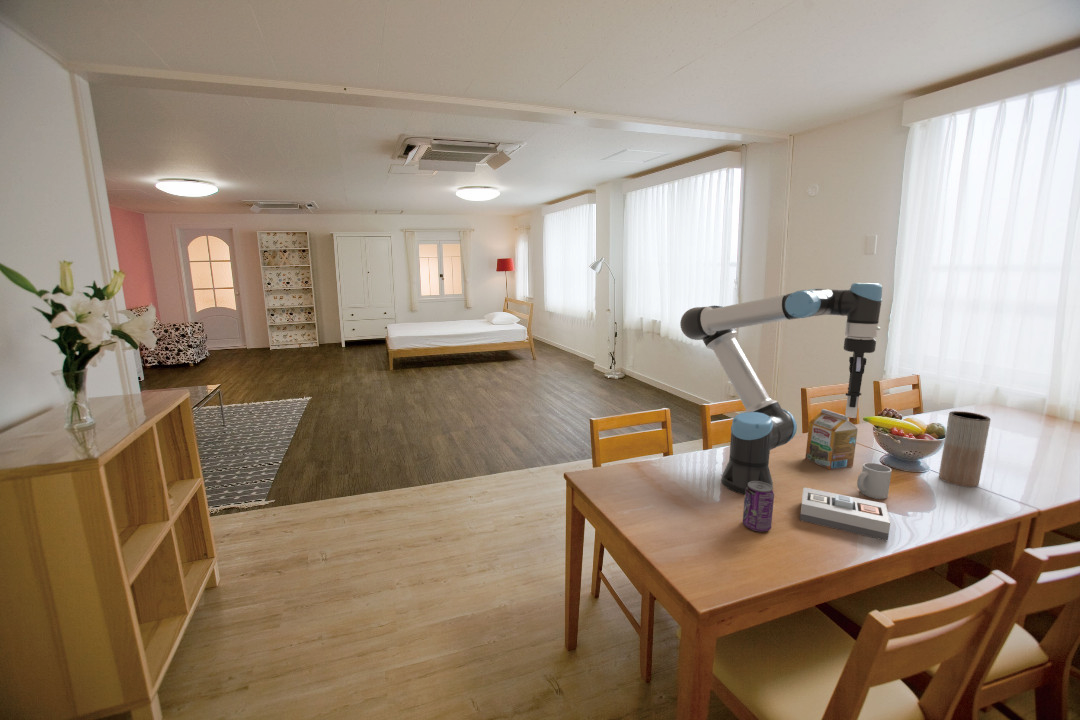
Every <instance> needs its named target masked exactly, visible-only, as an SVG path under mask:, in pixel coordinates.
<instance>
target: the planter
mask: <svg viewBox="0 0 1080 720" xmlns="http://www.w3.org/2000/svg"><path fill="white" fill-rule="evenodd" d="M990 424H991V418H990V417H989V416H988V415H985V414H981V413H976V412H971V411H963V410H962V411H961V410H953V411H949V413H948V419H947V423H946V429H945V430H946V431H945V434H944V435H945V436H944V443H943V449H942V453H941V454H942V455H941V461H940V466H939V473H938V477H939V478H940V479H941V480H942V481H944V482H946V483H949V484H952V485H955V486H959V487H966V488H976V487H978V486H979V485H980V480H981V475H982V469H983V463H984V457H985V453H986V449H987V448H986V446H987V441H988V436H989V430H990Z"/></svg>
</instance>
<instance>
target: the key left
mask: <svg viewBox="0 0 1080 720" xmlns="http://www.w3.org/2000/svg"><path fill="white" fill-rule="evenodd" d="M810 501H814V502H819V503H823V504H827V497H824V496H819V495H814V494H811V497H810Z"/></svg>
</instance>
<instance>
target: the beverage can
mask: <svg viewBox="0 0 1080 720" xmlns="http://www.w3.org/2000/svg"><path fill="white" fill-rule="evenodd" d="M773 489H774V486H773V487H772V486H771V485H770V484H768V483H765V482H761V481H751V482H748V486H747V488H746V489H745V494H744V502H743V511H742V512H743V514H742V524H743V526H745V527H746V528H748V529H750V530H752V531H754V532H759V533H760V532H768V531H770V530H771V529H772V523H773V522H772V521H773V513H774V503H775V502H774V500H775V492H774V490H773Z"/></svg>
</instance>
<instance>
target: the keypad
mask: <svg viewBox="0 0 1080 720" xmlns="http://www.w3.org/2000/svg"><path fill="white" fill-rule="evenodd" d="M811 494H814V495H819V496H824V497H827V504H823V503H819V502H814V501H810V497H811ZM836 494H837V495H842V496H847V497H852V498H853V509H847V508H842V507H837V506H835V505H834V504H835V495H836ZM801 497H802V499H801V507H800V516H799V521H802V522H806V523H810V524H815V525H818V526H823V527H828V528H831V529H832V528H833V529H837V530H840V531H844V532H849V533H851V534H852V533H854V534H857V535H861V536H862V535H863V536H865V537H869V538H873V539H878V538H879V539H878V540H882V539H883V541H887V542H888V540H889V534H890V528H891V527H890V526H891V519H890V517H889V516H890V515H889V511H888V509H887V504H886V503H883V502H880V501H879V502H878V501H875V500H874V501H873V500H870V499H864V498H859V497H854V496H851V495H849V496H848V495H844V494H841V493H840V494H839V493H834V492H828V491H825V490H820V489H816V488H815V489H814V488H809V487H803V489H802V496H801ZM860 504H862V505H867V506H872V507H877V508H878V510H879V515H875V514H870V513H866V512H861V511H860Z"/></svg>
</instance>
